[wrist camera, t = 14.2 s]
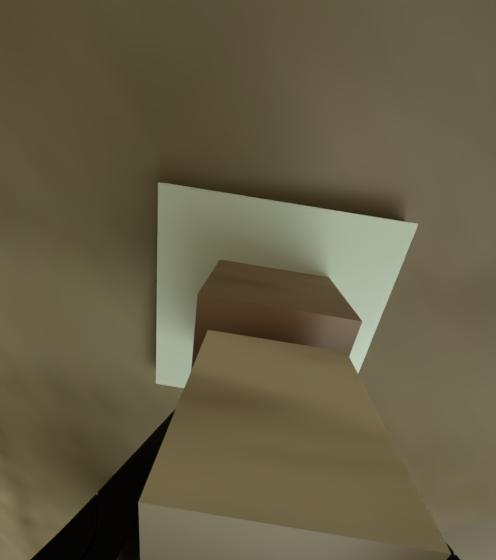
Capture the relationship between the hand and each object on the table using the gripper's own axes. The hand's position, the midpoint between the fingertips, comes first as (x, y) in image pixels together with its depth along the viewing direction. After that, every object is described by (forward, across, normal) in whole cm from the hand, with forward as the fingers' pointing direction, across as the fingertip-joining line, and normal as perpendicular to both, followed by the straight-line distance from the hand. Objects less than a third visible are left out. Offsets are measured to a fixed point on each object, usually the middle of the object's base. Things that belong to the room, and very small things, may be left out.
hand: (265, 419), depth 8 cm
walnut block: (+7, 0, 0) cm, 7 cm away
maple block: (+1, 0, 0) cm, 1 cm away
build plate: (+8, 0, 0) cm, 8 cm away
